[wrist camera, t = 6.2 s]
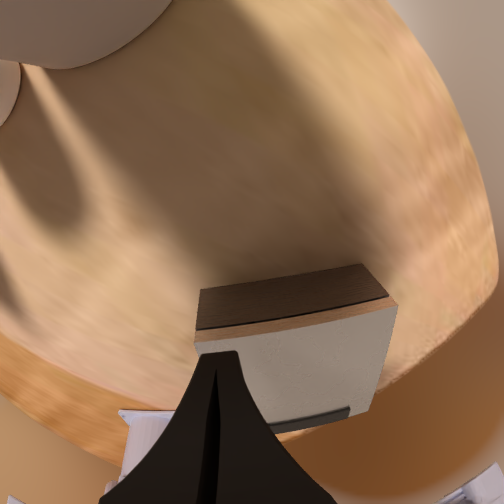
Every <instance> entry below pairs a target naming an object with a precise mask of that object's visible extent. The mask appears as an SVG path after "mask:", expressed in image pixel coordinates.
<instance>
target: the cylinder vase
mask: <svg viewBox="0 0 504 504" xmlns="http://www.w3.org/2000/svg"><path fill="white" fill-rule="evenodd" d="M171 1H172V0H0V59H1V60H7V61H14V62H19V63H25V64H30V65H35V66H40V67H44V68H49V69H70V68H75V67H79V66H83V65H86V64H89V63H91V62H94V61H96V60H99V59H101V58H103V57H105V56H107V55H109V54H111V53H113V52H114V51H116V50H118V49H119V48H121V47H123V46H124V45H126V44H127V43H129V42H130V41H131V40H133V39H134V38H135V37H137V36H138V35H139V34H141V33H142V32H143V31H144V30H145V29H146V28H148V27H149V26H150V25H151V24H152V23H153V22H154V21H155V20H156V19H157V18H158V17H159V16H160V15H161V14H162V13H163V11H164V10H165V9H166V8H167V7H168V5H169V4H170V3H171Z"/></svg>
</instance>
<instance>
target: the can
mask: <svg viewBox="0 0 504 504" xmlns="http://www.w3.org/2000/svg"><path fill="white" fill-rule="evenodd" d="M20 82H21V73H20V66H19V63H18V62H14V61H7V60H1V59H0V126H1V125H2V124H3V123H4V122H5V120H6V119H7V117H8V116H9V114H10V113H11V111H12V109H13V107H14V105H15V102H16V100H17V97H18V93H19V89H20Z"/></svg>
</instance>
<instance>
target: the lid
mask: <svg viewBox="0 0 504 504" xmlns="http://www.w3.org/2000/svg"><path fill="white" fill-rule="evenodd" d="M397 309H398V304H397V303H396V302H395V301H394V300H393V298H392V297H391V296H390V297H386V298H382V299H378V300H374V301H370V302H365V303H361V304H357V305H352V306H348V307H343V308H338V309H333V310H329V311H324V312H319V313H313V314H308V315H303V316H297V317H292V318H286V319H280V320H274V321H268V322H261V323H255V324H248V325H241V326H233V327H226V328H218V329H210V330H201V331H195V336H194V345H195V348H196V351H197V354H198V356H199V358H200V356H201V354H204V353H213V352H222V351H231V350H235V351H237V352H238V355H239V359H240V363H241V367H242V372H243V376H244V380H245V382H246V385H247V387H248V389H249V391H250V393H251V396H252V398H253V400H254V402H255V404H256V405H257V407H258V409H259V411H260V413H261V414H262V416H263V418H264V419H265V421H266V423H267V424H268V426H269V427H270V429H271V430H272V432H273V433H274V434H279V433H285V432H291V431H296V430H301V429H306V428H311V427H315V426H320V425H324V424H328V423H332V422H335V421H339V420H343V419H346V418H348V417H350V416H354V415H357V414H360V413H363V412H367V411H368V409H369V407H370V404H371V401H372V398H373V396H374V393H375V390H376V387H377V384H378V381H379V378H380V375H381V371H382V368H383V365H384V361H385V358H386V354H387V351H388V347H389V343H390V339H391V335H392V331H393V327H394V323H395V318H396V314H397Z"/></svg>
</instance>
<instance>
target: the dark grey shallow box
mask: <svg viewBox="0 0 504 504" xmlns="http://www.w3.org/2000/svg"><path fill="white" fill-rule="evenodd" d="M386 297H389V294H388V293H387V291H386V290H385V289H384V288H383V287H382V286H381V284H380V283H379V282H378V281H377V280H376V279H375V278H374V276H373V275H372V274H371V273H370V272H369V271H368V270H367V269H366V267H365V266H364V265H363V264H358V265H353V266H347V267H341V268H336V269H330V270H324V271H318V272H312V273H306V274H300V275H294V276H288V277H282V278H275V279H269V280H263V281H256V282H249V283H243V284H236V285H229V286H222V287H214V288H207V289H200V297H199V304H198V312H197V320H196V328H195V329H196V331H201V330H210V329H218V328H226V327H233V326H241V325H248V324H255V323H261V322H268V321H274V320H280V319H286V318H292V317H297V316H303V315H308V314H313V313H319V312H324V311H329V310H333V309H338V308H343V307H348V306H352V305H357V304H361V303H365V302H370V301H374V300H378V299H382V298H386Z"/></svg>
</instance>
